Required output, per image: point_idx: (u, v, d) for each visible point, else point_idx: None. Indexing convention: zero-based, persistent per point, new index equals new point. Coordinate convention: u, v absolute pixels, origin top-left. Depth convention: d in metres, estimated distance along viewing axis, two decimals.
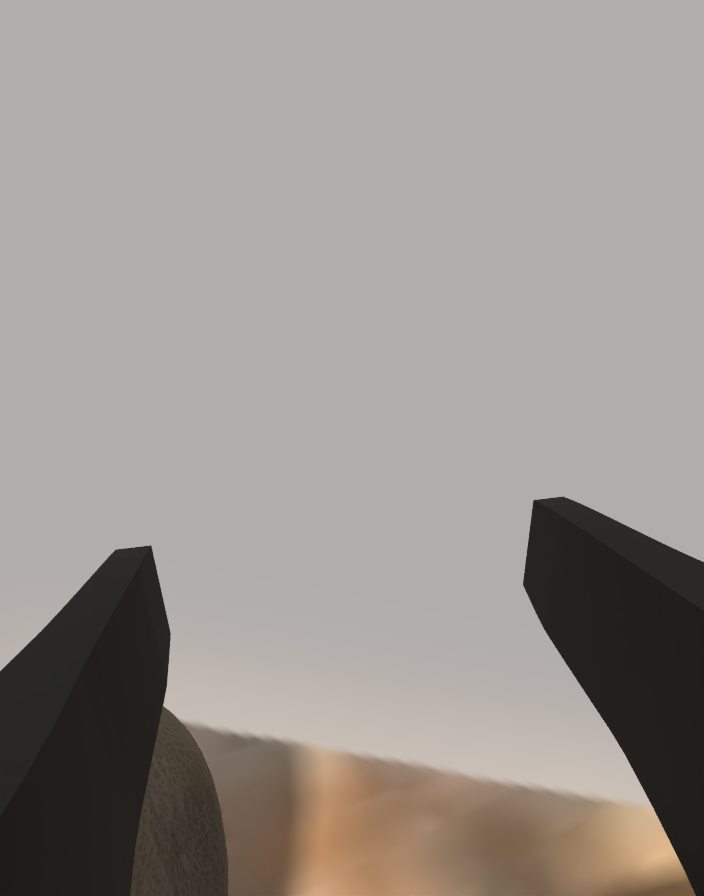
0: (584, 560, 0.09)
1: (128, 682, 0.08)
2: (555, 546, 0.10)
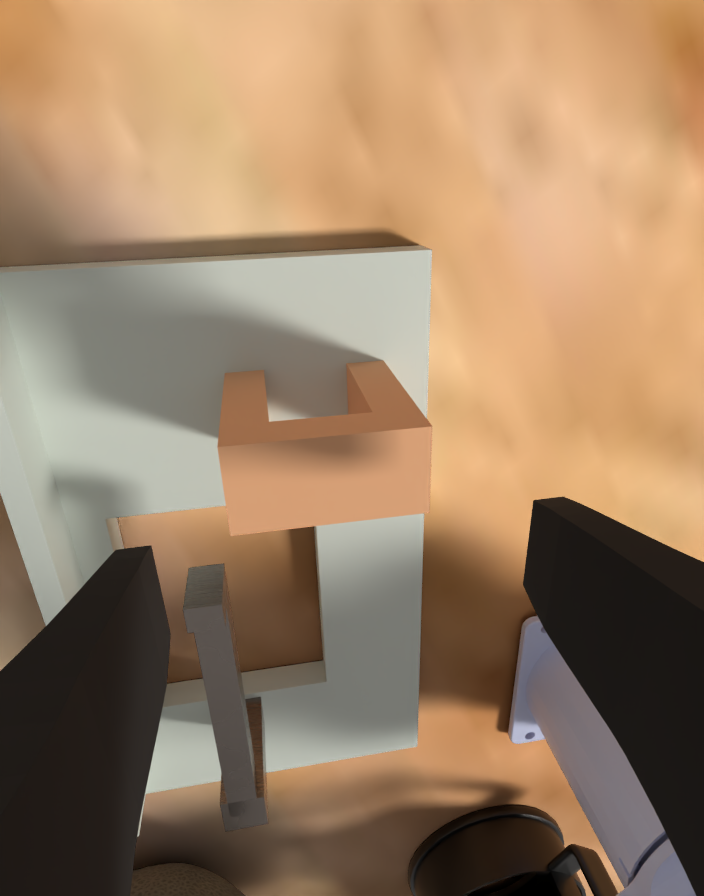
0: (584, 560, 0.09)
1: (128, 681, 0.08)
2: (555, 546, 0.10)
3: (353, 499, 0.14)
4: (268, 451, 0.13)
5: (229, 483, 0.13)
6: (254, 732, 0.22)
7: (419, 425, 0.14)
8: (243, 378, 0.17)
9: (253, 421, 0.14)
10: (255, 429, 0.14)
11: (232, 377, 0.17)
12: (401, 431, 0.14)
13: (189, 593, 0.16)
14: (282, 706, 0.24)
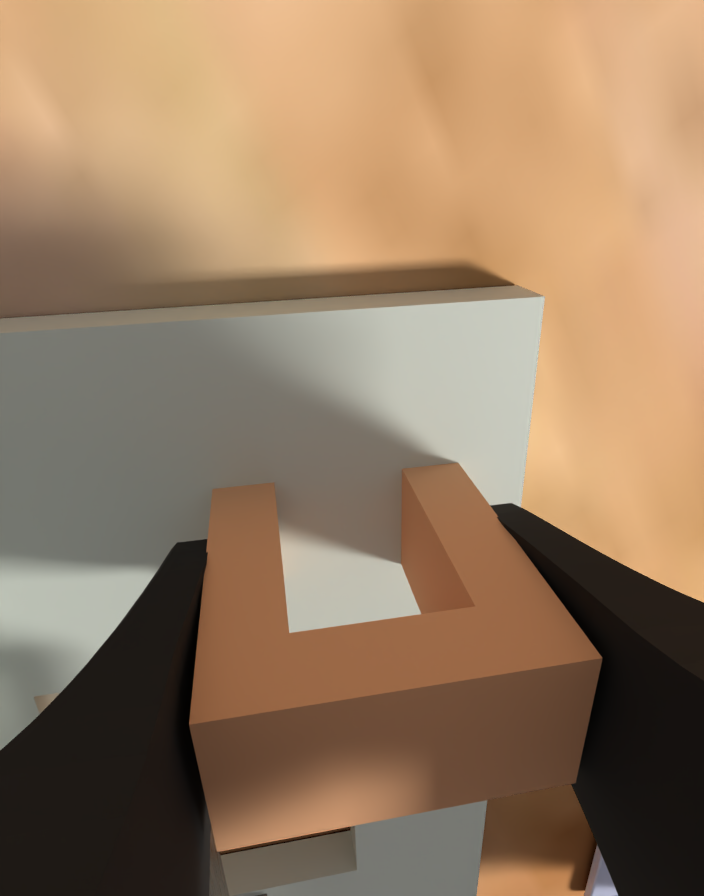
0: None
1: None
2: None
3: (445, 778, 0.08)
4: (290, 722, 0.07)
5: (214, 776, 0.07)
6: None
7: (576, 653, 0.07)
8: (241, 505, 0.11)
9: (260, 631, 0.08)
10: (264, 659, 0.07)
11: (225, 500, 0.11)
12: (545, 670, 0.07)
13: None
14: None
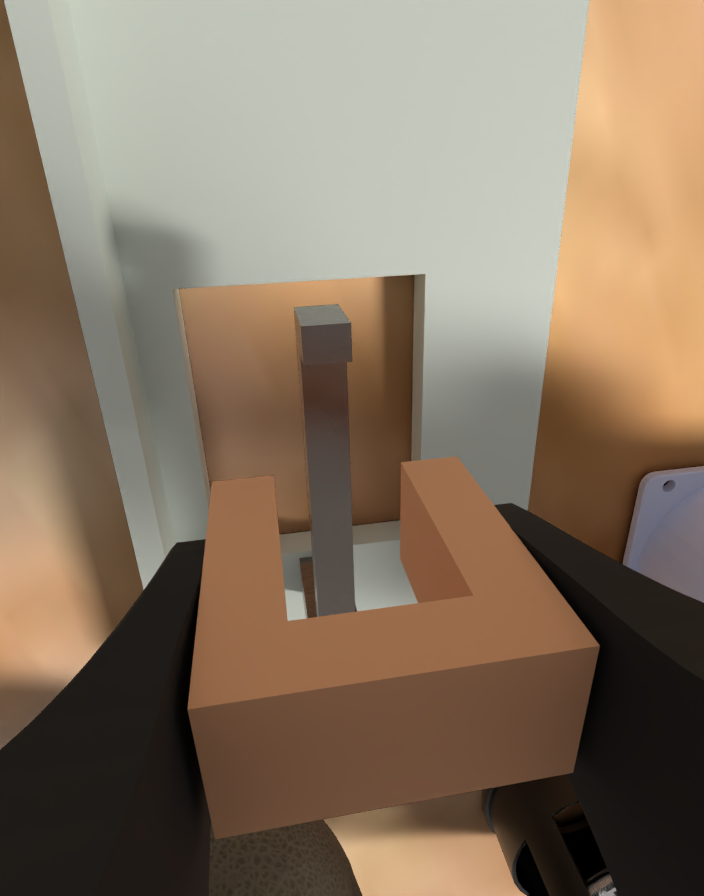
0: None
1: None
2: None
3: (443, 766, 0.08)
4: (288, 707, 0.07)
5: (212, 762, 0.07)
6: None
7: (573, 641, 0.07)
8: (241, 496, 0.11)
9: (259, 619, 0.08)
10: (263, 646, 0.07)
11: (224, 492, 0.11)
12: (542, 657, 0.07)
13: (303, 318, 0.12)
14: (365, 567, 0.20)
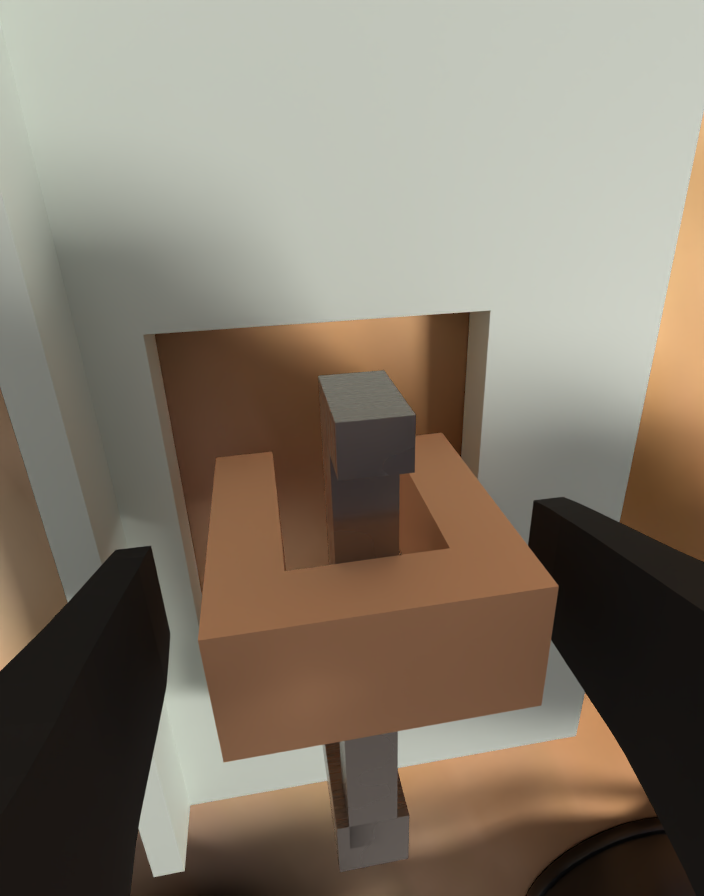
0: (584, 560, 0.09)
1: (128, 681, 0.08)
2: (555, 546, 0.10)
3: (424, 697, 0.09)
4: (285, 640, 0.08)
5: (220, 690, 0.08)
6: None
7: (536, 583, 0.08)
8: (242, 470, 0.12)
9: (259, 570, 0.09)
10: (262, 591, 0.08)
11: (227, 466, 0.12)
12: (508, 596, 0.08)
13: (337, 403, 0.08)
14: None
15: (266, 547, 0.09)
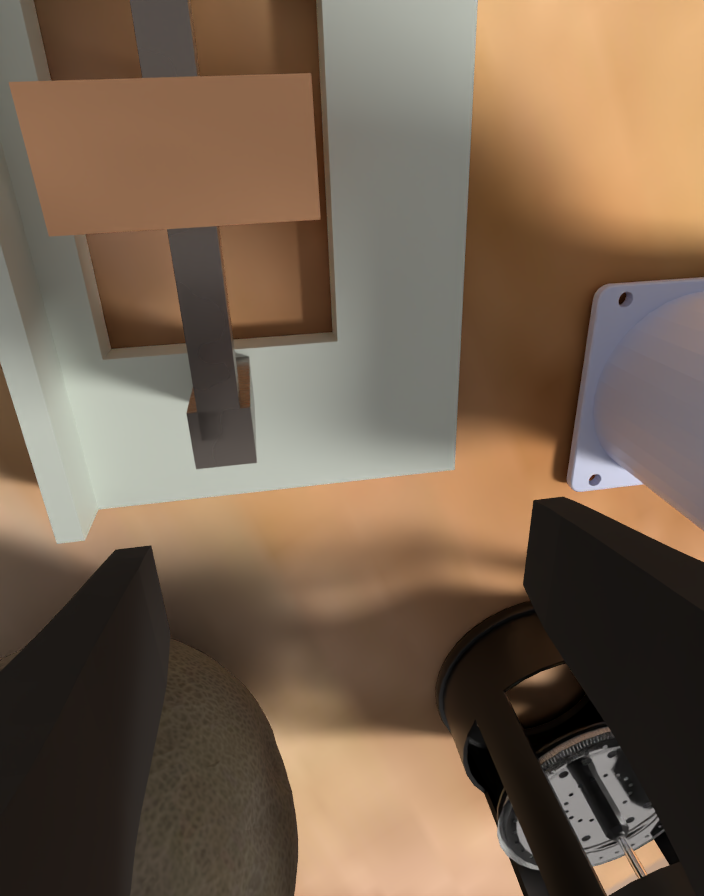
0: (584, 560, 0.09)
1: (128, 681, 0.08)
2: (555, 546, 0.10)
3: (213, 188, 0.11)
4: (83, 95, 0.10)
5: (35, 147, 0.10)
6: (239, 374, 0.16)
7: (294, 74, 0.10)
8: None
9: None
10: None
11: None
12: (268, 78, 0.10)
13: None
14: (278, 378, 0.18)
15: None
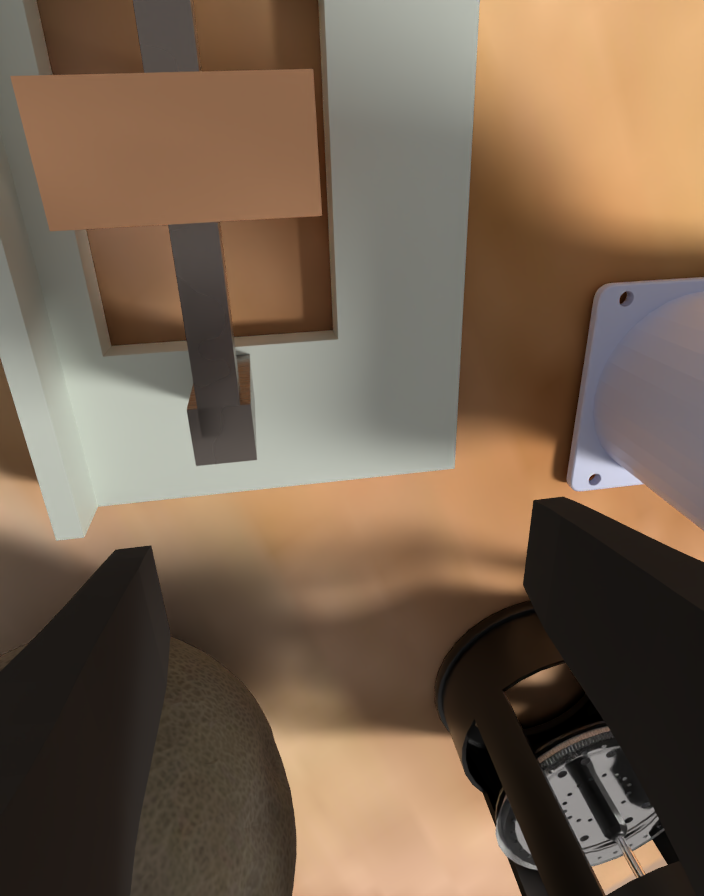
0: (584, 560, 0.09)
1: (128, 681, 0.08)
2: (555, 546, 0.10)
3: (215, 184, 0.11)
4: (85, 90, 0.10)
5: (36, 142, 0.10)
6: (239, 371, 0.16)
7: (296, 70, 0.10)
8: None
9: None
10: None
11: None
12: (270, 73, 0.10)
13: None
14: (278, 375, 0.18)
15: None
